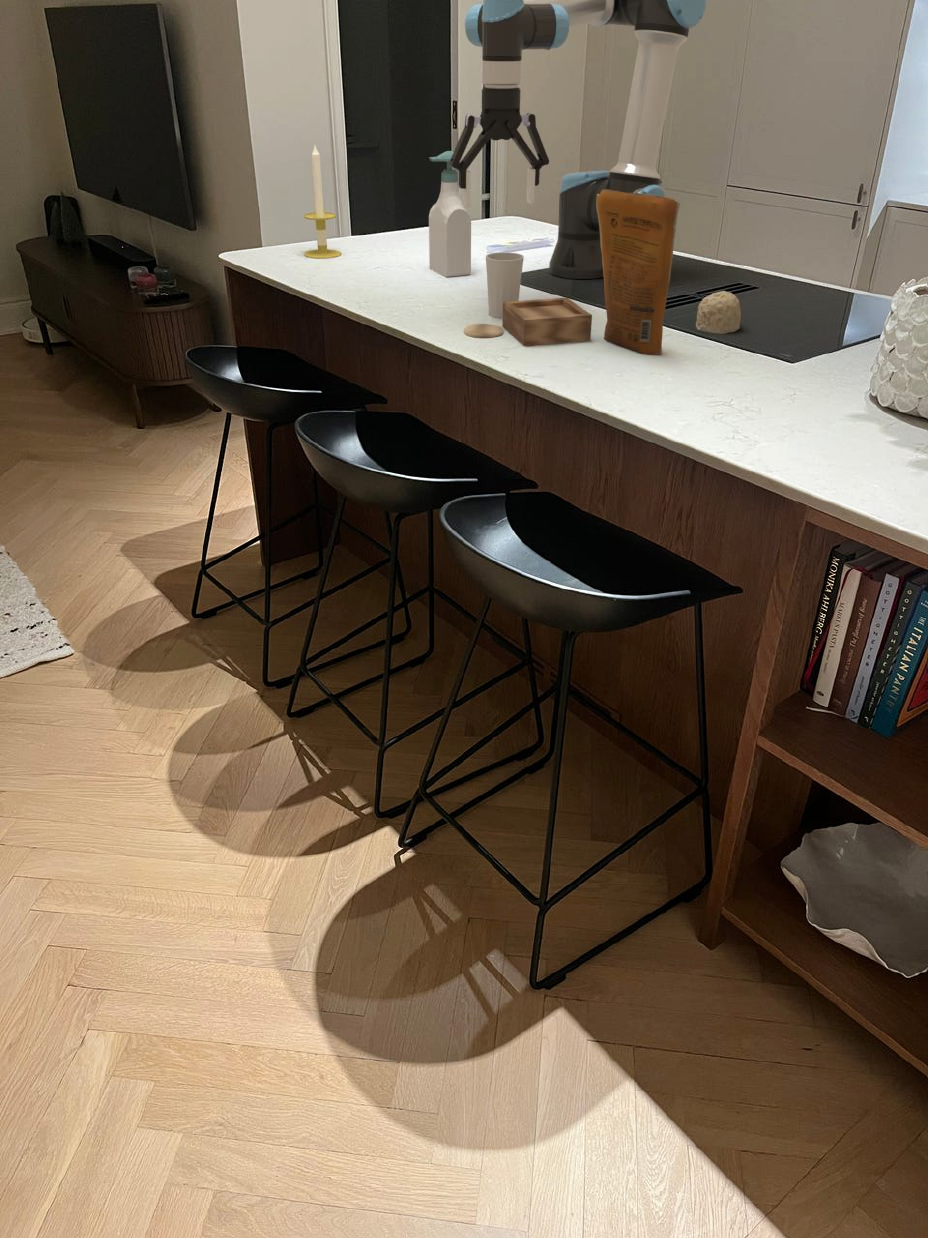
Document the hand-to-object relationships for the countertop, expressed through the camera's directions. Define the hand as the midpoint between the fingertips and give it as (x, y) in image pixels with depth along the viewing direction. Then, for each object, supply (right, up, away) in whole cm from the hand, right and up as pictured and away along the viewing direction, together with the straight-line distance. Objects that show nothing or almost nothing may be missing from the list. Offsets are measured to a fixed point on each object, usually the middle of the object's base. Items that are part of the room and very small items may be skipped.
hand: (498, 204), depth 197 cm
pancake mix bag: (+25, -31, -8) cm, 41 cm away
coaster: (-3, -26, 0) cm, 26 cm away
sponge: (+46, -24, +3) cm, 52 cm away
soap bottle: (-11, +2, +44) cm, 46 cm away
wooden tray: (+10, -27, -1) cm, 28 cm away
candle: (-45, +13, +61) cm, 77 cm away
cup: (+1, -19, +11) cm, 22 cm away
